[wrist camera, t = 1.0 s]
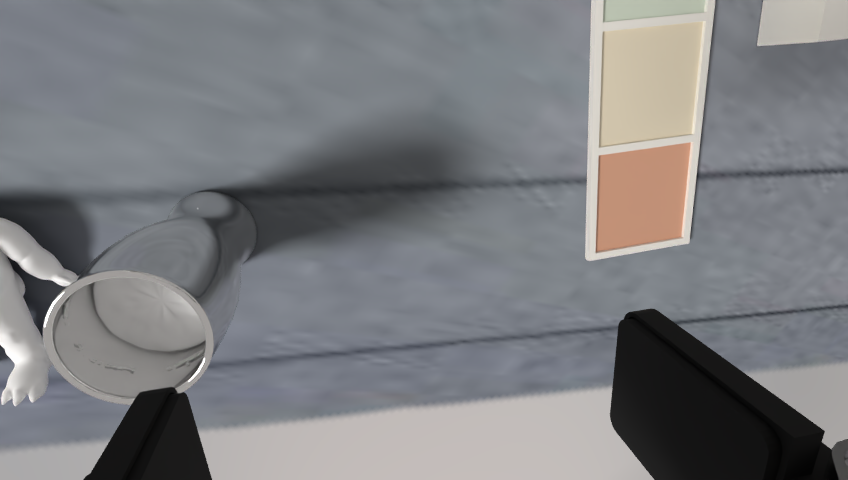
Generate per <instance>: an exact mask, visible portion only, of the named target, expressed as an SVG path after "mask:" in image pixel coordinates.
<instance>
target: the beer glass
mask: <svg viewBox="0 0 848 480" xmlns="http://www.w3.org/2000/svg"><path fill="white" fill-rule="evenodd" d="M256 240H257V230H256V225H255V222H254V219H253V217H252V215H251V214H250V212H249V211H248V210H247V208H246V207H245V206H244V205H243V204H241V203H240V202H239V201H238V200H236V199H234V198H233V197H231V196H228V195H226V194H223V193H219V192H211V191H206V192H198V193H194V194H191V195H189V196H187V197H185V198H183V199H181V200H180V201H179V202H178V203H177V204H176V205H175V206H174V207H173V209H172V210H171V212H170V214H169V216H168V218H167V219H166V220H163V221H159V222H157V223H154V224H151V225H148V226H145V227H143V228H141V229H139V230H136V231H134V232H132V233H130V234H128V235H126V236H124V237H123V238H121V239H120V240H118V241H117V242H116V243H114V244H113V245H111V246H110V247H108V248H107V249H106V250H104V251H103V252H102V253H101V254H100V255H99V256H98V257H96V258H95V259H94V260H93V261H92V262H91V263H90V264H89V265H88V266H87V267H86V268H85V269H84V270H83V271H82V272H81V273H80V274H79V275H78V276H77V277H76V278H75V279H74V280H73V281H72V283H71V284H70V285H69V286H67V287H66V288H65V289H64V290H62V291H61V292H60V293H59V294H58V295H57V296H56V298H55V299H54V300H53V302H52V303H51V305H50V307H49V308H48V311H47V313H46V316H45V319H44V323H43V341H44V346H45V349H46V352H47V355H48V357H49V359H50V361H51V363H52V364H53V366H54V367H55V369H56V370H57V371H58V372H59V373H60V375H61V376H62V377H63V378H64V379H66V380H67V381H68V382H69V383H70V384H72V385H73V386H74V387H76V388H77V389H79V390H81V391H82V392H84V393H86V394H88V395H90V396H93V397H95V398H98V399H101V400H104V401H108V402H112V403H118V404H126V405H132V403H133V401H134V400H135V398H136V396H137V395H138V394H139V393H140V392H142V391H148V390H154V389H161V388H167V387H174V388H175V389H176V390H177V392H178V393H182V392H184V391H186V390H187V389H189V388H190V387H191V386H192V385H194V384H195V383H196V382H197V381H198V380H199V379H200V378H201V376H202V375H203V374H204V372H205V371H206V369H207V367H208V365H209V363H210V361H211V358H212V357H213V355H214V354H215V352H216V350H217V349H218V347H219V345H220V343H221V342H222V340H223V338H224V336H225V334H226V332H227V330H228V328H229V326H230V324H231V322H232V319H233V317H234V314H235V311H236V307H237V304H238V301H239V295H240V287H241V264H243V263H244V262H245V261H246V260H247V259H248V258H249V256H250V255H251V253H252V252H253V250H254V247H255V244H256Z"/></svg>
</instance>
